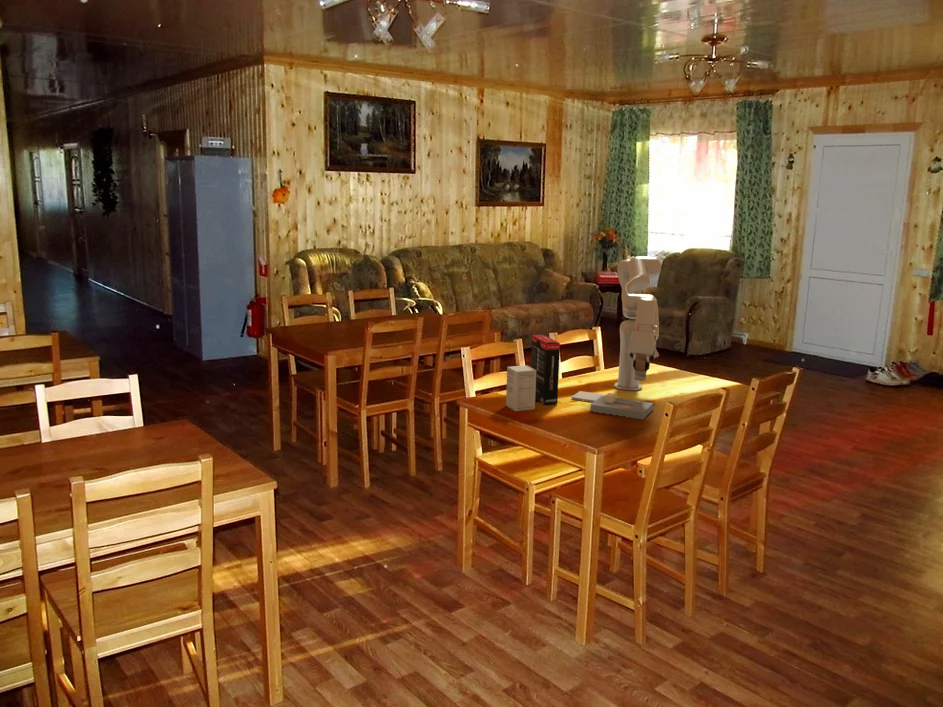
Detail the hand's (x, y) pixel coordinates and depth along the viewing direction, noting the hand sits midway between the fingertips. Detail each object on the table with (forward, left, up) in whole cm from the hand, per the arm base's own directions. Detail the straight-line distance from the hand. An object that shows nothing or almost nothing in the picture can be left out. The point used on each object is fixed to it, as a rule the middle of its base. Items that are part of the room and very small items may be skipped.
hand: (640, 369), depth 339 cm
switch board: (+13, -4, -16) cm, 20 cm away
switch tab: (+13, -9, -12) cm, 20 cm away
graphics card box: (+15, -38, -16) cm, 43 cm away
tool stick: (0, 0, -4) cm, 4 cm away
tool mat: (+1, -22, -16) cm, 27 cm away
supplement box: (+31, -42, -16) cm, 54 cm away
